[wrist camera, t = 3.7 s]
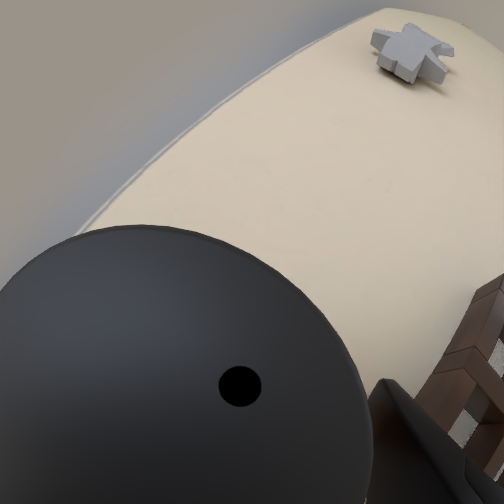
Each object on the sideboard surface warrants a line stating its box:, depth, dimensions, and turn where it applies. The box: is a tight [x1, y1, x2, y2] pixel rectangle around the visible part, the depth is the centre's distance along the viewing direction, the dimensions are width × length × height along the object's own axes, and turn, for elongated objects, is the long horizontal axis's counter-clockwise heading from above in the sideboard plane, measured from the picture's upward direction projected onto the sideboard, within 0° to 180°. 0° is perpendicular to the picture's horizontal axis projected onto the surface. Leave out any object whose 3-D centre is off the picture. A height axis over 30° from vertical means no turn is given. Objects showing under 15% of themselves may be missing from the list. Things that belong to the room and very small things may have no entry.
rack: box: [414, 273, 504, 489], centre depth 11 cm, size 13×13×3 cm
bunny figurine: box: [370, 23, 454, 84], centre depth 26 cm, size 10×5×15 cm
